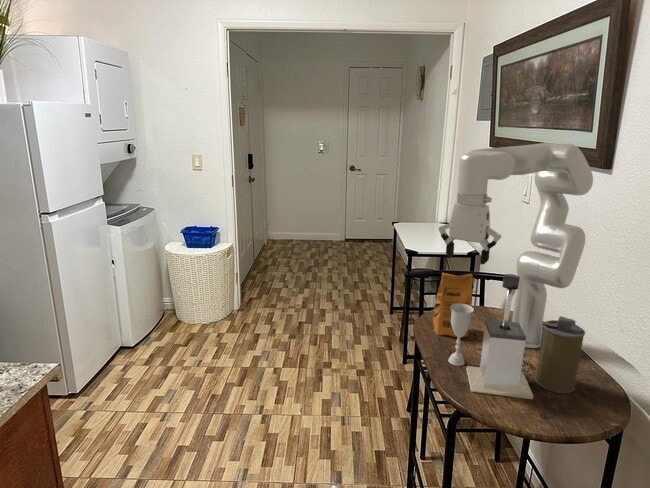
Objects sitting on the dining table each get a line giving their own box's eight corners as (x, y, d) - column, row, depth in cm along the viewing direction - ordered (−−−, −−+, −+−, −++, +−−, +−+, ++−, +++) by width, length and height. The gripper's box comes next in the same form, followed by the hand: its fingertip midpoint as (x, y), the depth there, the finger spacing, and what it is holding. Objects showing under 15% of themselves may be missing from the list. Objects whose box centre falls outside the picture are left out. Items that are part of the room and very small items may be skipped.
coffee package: (431, 324, 164) (436, 268, 159) (466, 327, 162) (472, 270, 157) (433, 336, 155) (438, 276, 149) (470, 339, 153) (476, 279, 147)
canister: (575, 380, 129) (587, 316, 124) (574, 398, 120) (586, 330, 115) (535, 369, 134) (544, 308, 129) (531, 386, 125) (540, 321, 120)
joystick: (522, 375, 131) (530, 321, 126) (532, 399, 119) (541, 340, 115) (466, 368, 134) (472, 315, 130) (471, 391, 122) (477, 334, 118)
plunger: (510, 346, 126) (520, 274, 120) (515, 355, 120) (525, 280, 115) (489, 343, 127) (498, 272, 121) (492, 353, 121) (502, 279, 116)
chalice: (469, 368, 134) (475, 313, 129) (446, 365, 135) (451, 311, 131) (466, 356, 141) (472, 304, 136) (444, 354, 142) (449, 302, 138)
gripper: (508, 201, 117) (502, 262, 121) (446, 195, 127) (443, 251, 132) (499, 205, 111) (493, 269, 116) (435, 198, 122) (432, 257, 126)
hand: (466, 259), depth 124 cm, fingers open, 9 cm apart
